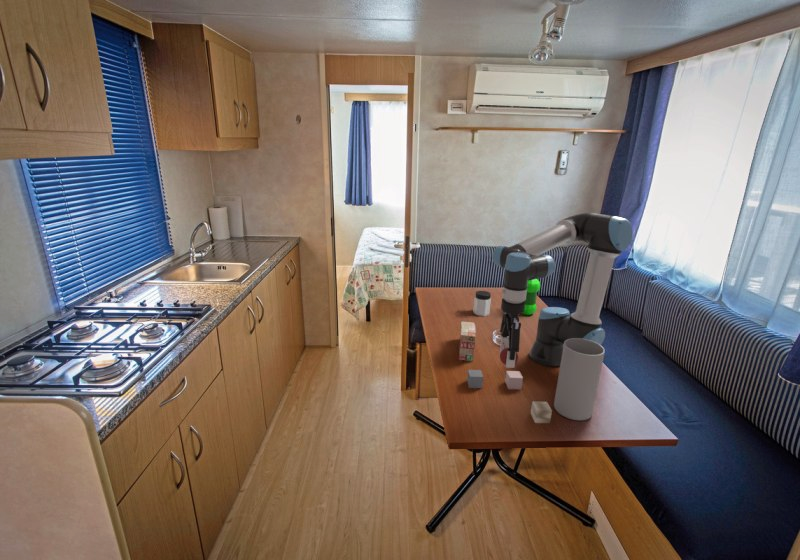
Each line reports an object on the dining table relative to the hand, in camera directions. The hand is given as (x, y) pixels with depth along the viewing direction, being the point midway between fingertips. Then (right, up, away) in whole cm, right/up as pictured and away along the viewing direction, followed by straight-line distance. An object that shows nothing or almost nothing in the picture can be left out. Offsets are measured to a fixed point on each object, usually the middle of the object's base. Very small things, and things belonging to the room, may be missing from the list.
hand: (506, 360), depth 142 cm
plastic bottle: (+34, +9, +87) cm, 94 cm away
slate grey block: (-8, -13, +16) cm, 22 cm away
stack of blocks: (-7, -4, +43) cm, 44 cm away
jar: (+8, +9, +85) cm, 86 cm away
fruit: (0, -1, 0) cm, 1 cm away
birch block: (+10, -19, -3) cm, 22 cm away
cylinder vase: (+23, -18, +2) cm, 30 cm away
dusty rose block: (+7, -13, +16) cm, 21 cm away
